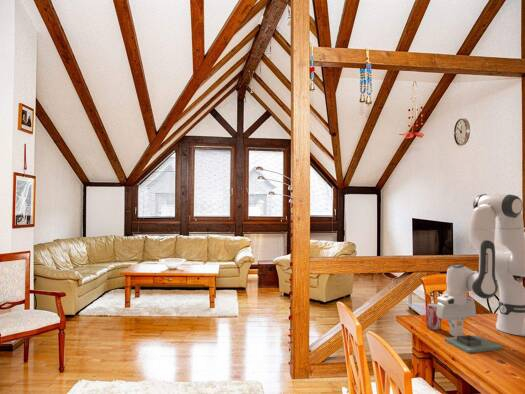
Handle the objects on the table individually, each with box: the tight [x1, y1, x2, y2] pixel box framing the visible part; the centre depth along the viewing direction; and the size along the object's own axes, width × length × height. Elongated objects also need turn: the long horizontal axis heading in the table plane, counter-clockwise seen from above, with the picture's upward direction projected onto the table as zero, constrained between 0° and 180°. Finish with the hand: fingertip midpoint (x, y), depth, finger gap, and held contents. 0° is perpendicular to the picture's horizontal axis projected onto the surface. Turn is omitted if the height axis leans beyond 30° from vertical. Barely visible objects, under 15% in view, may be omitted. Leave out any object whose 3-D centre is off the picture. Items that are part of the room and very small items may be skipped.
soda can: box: [425, 302, 442, 331], centre depth 189 cm, size 7×7×12 cm
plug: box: [449, 318, 464, 337], centre depth 179 cm, size 4×4×8 cm
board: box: [444, 334, 503, 354], centre depth 167 cm, size 18×14×3 cm
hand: (456, 326), depth 179 cm, fingers closed on plug, 4 cm apart
